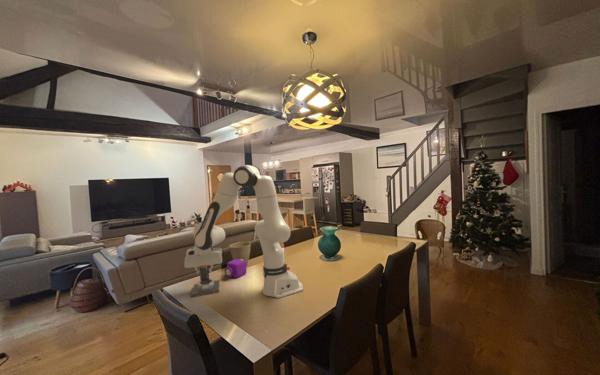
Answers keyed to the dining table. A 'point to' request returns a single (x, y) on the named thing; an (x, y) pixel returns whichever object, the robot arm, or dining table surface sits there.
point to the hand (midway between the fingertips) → (204, 273)
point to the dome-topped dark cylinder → (204, 273)
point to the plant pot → (240, 251)
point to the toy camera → (235, 268)
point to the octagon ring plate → (205, 287)
